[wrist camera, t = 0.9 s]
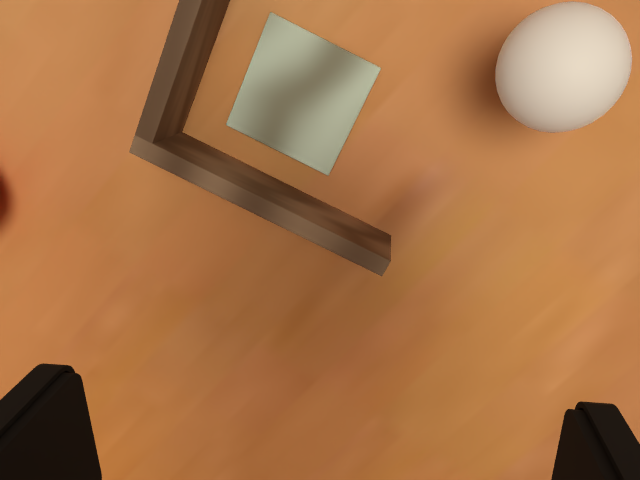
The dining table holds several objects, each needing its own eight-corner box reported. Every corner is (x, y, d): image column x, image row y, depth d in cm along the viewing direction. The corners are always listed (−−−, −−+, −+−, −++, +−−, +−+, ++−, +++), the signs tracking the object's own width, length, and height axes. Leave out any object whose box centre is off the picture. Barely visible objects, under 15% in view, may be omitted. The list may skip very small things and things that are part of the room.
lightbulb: (455, 50, 34) (484, 51, 23) (546, -9, 32) (620, -36, 22) (500, 132, 35) (546, 166, 25) (590, 80, 33) (679, 93, 23)
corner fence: (521, 4, 32) (543, -4, 28) (383, 249, 39) (381, 276, 34) (257, -134, 32) (233, -165, 27) (161, 139, 38) (129, 152, 33)
